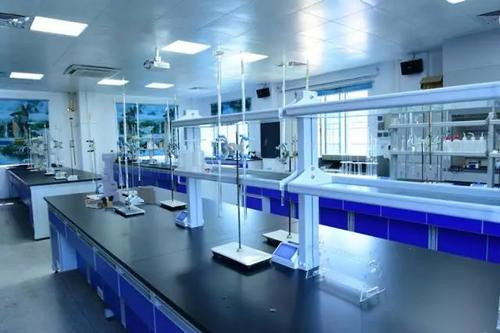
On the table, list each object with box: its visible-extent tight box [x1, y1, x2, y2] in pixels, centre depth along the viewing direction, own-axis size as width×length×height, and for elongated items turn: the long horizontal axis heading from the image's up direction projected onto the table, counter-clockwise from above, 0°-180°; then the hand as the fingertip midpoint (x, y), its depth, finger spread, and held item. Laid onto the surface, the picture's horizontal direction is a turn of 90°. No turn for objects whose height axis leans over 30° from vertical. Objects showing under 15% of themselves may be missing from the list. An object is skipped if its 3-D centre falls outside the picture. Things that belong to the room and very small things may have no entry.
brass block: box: [103, 201, 113, 209], centre depth 282 cm, size 4×5×5 cm
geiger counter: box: [134, 185, 157, 205], centre depth 298 cm, size 14×6×25 cm
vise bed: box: [85, 199, 114, 209], centre depth 288 cm, size 14×16×5 cm
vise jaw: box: [84, 198, 102, 204], centre depth 293 cm, size 12×9×3 cm
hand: (108, 205), depth 282 cm, fingers closed on brass block, 4 cm apart
